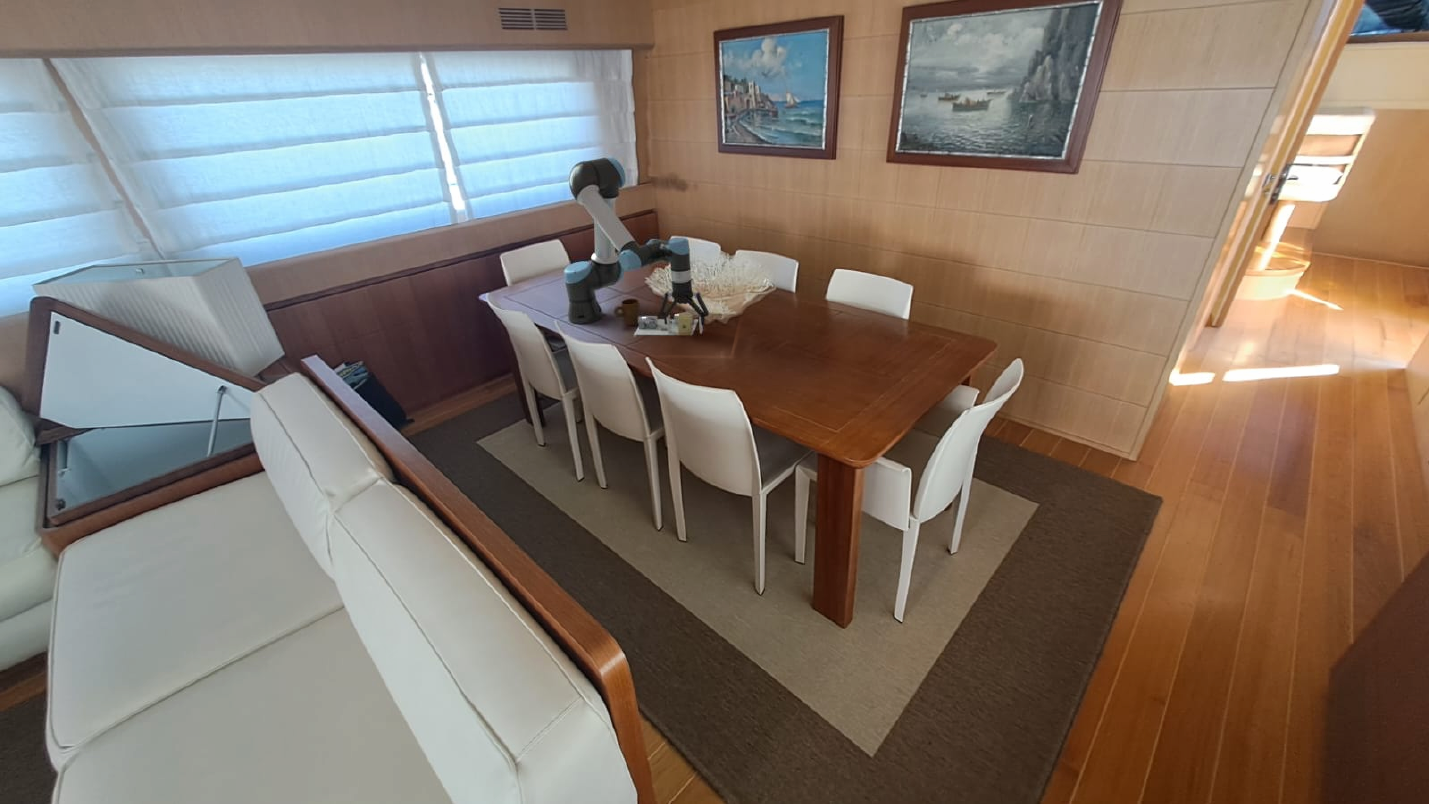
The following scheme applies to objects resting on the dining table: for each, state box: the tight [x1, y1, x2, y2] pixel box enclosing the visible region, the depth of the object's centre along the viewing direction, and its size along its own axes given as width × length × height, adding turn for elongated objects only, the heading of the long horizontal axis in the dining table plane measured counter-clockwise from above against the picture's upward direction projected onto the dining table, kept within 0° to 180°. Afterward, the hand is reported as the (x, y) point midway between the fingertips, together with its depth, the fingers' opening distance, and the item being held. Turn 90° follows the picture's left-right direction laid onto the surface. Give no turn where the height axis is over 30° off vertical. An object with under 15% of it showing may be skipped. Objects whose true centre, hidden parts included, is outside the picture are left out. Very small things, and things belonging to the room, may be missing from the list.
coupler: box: [677, 313, 694, 336], centre depth 216 cm, size 5×5×7 cm
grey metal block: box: [673, 310, 695, 326], centre depth 225 cm, size 8×5×5 cm, turn 112°
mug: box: [613, 298, 642, 326], centre depth 229 cm, size 12×8×9 cm, turn 131°
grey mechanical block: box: [637, 315, 658, 329], centre depth 224 cm, size 8×5×5 cm, turn 82°
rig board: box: [633, 318, 699, 338], centre depth 224 cm, size 24×16×2 cm, turn 82°
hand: (685, 332), depth 218 cm, fingers open, 12 cm apart
